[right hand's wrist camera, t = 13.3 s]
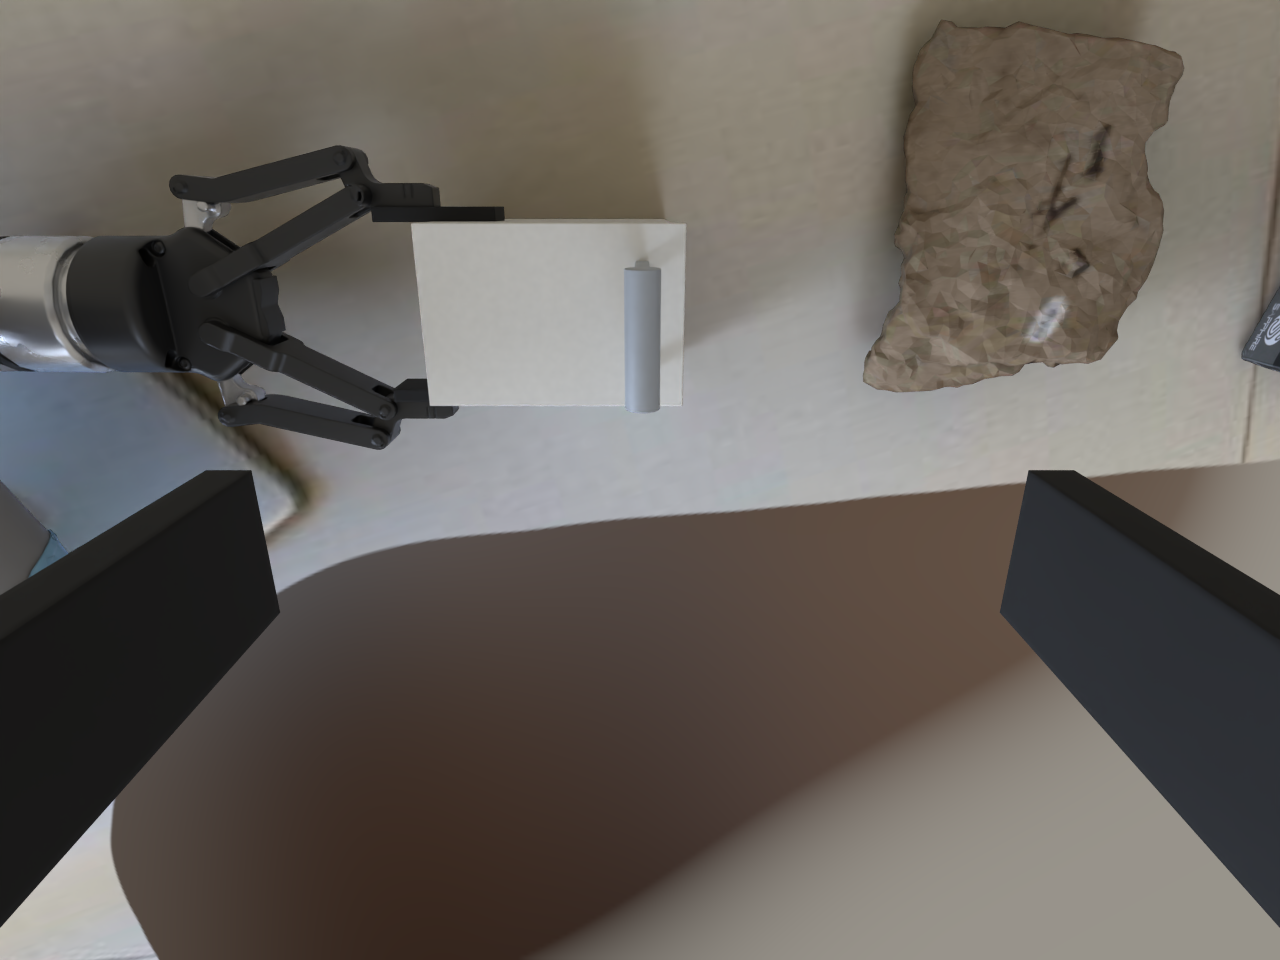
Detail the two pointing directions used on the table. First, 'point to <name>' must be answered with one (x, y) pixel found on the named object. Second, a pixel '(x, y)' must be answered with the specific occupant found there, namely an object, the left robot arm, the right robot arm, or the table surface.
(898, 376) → the stone
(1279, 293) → the graphics card box
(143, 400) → the table surface
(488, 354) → the lid
